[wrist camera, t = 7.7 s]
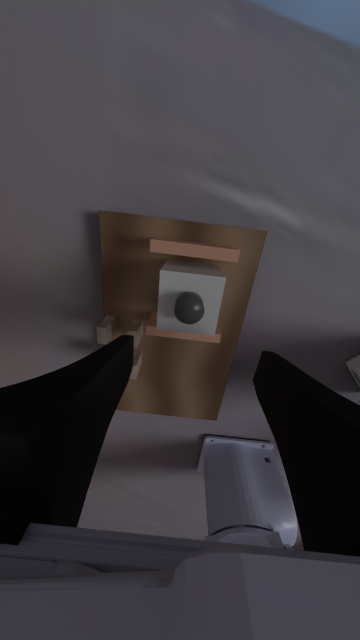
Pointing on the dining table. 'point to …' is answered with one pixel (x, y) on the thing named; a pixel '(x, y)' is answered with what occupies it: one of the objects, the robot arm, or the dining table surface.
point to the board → (142, 299)
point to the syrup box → (354, 368)
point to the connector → (189, 297)
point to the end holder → (192, 251)
